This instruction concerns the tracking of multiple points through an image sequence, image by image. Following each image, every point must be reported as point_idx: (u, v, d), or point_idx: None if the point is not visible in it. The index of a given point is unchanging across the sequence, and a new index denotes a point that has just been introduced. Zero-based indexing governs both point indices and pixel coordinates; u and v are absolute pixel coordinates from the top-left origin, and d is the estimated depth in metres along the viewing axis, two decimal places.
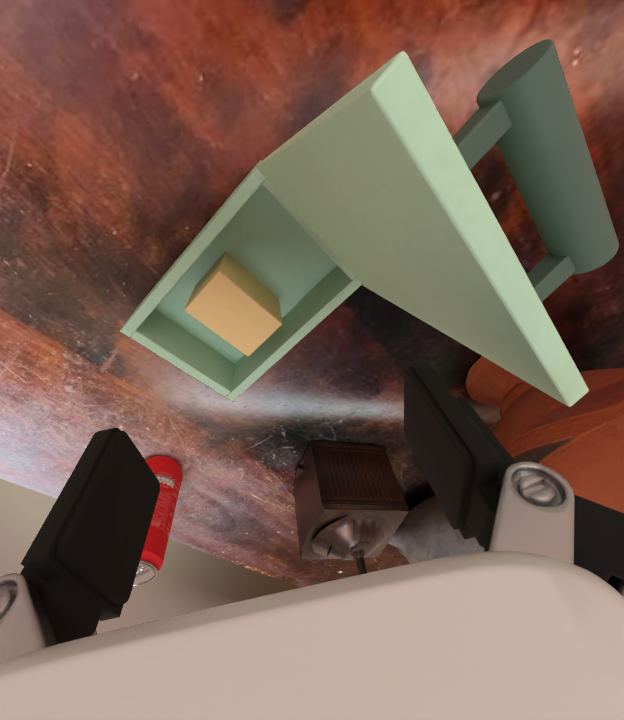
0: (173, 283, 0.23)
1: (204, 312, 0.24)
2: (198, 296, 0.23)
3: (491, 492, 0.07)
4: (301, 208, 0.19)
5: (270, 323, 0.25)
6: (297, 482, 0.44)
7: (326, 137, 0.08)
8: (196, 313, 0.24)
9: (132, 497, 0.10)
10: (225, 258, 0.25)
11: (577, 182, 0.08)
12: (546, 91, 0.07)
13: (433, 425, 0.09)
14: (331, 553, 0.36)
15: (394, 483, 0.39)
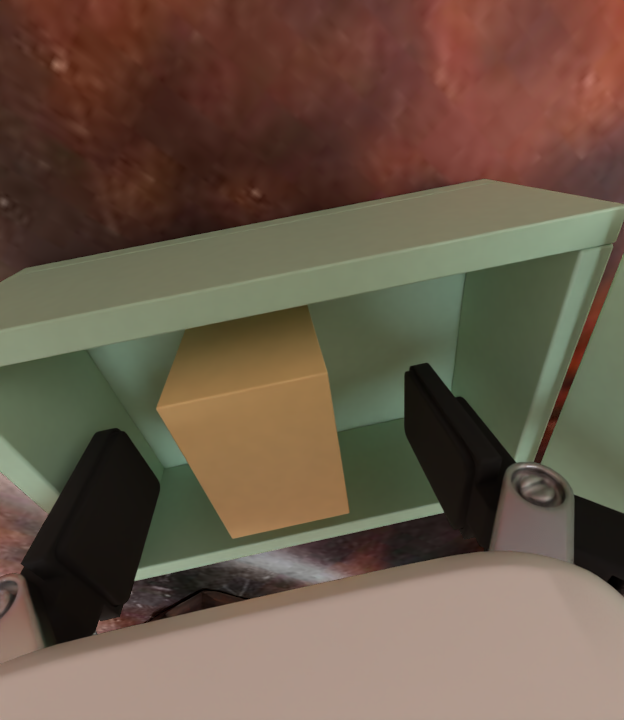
0: (173, 327, 0.07)
1: (208, 435, 0.08)
2: (223, 397, 0.08)
3: (490, 492, 0.07)
4: None
5: (330, 505, 0.11)
6: None
7: None
8: (184, 428, 0.08)
9: (132, 497, 0.10)
10: (309, 313, 0.10)
11: None
12: None
13: (433, 425, 0.09)
14: None
15: None
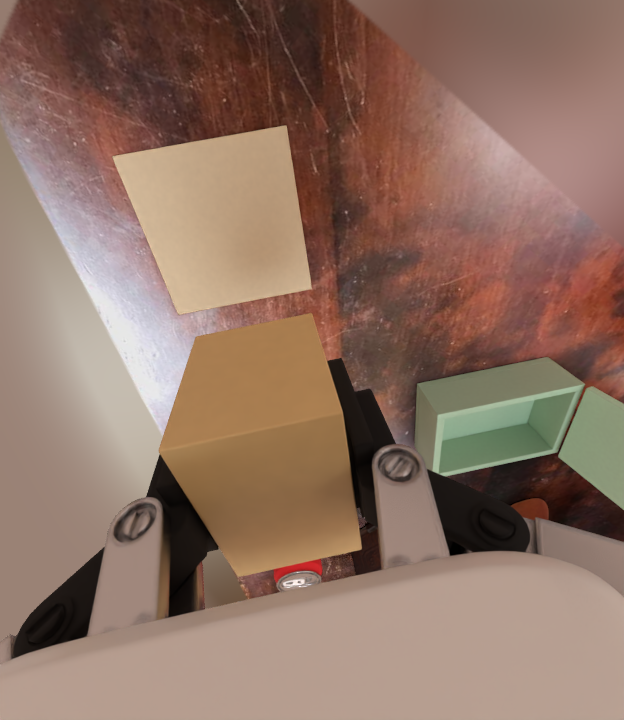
0: (491, 408, 0.34)
1: (214, 476, 0.08)
2: (231, 439, 0.07)
3: (366, 471, 0.08)
4: (601, 425, 0.33)
5: (342, 542, 0.10)
6: (361, 534, 0.52)
7: None
8: (188, 470, 0.07)
9: None
10: (319, 339, 0.10)
11: None
12: None
13: None
14: None
15: None
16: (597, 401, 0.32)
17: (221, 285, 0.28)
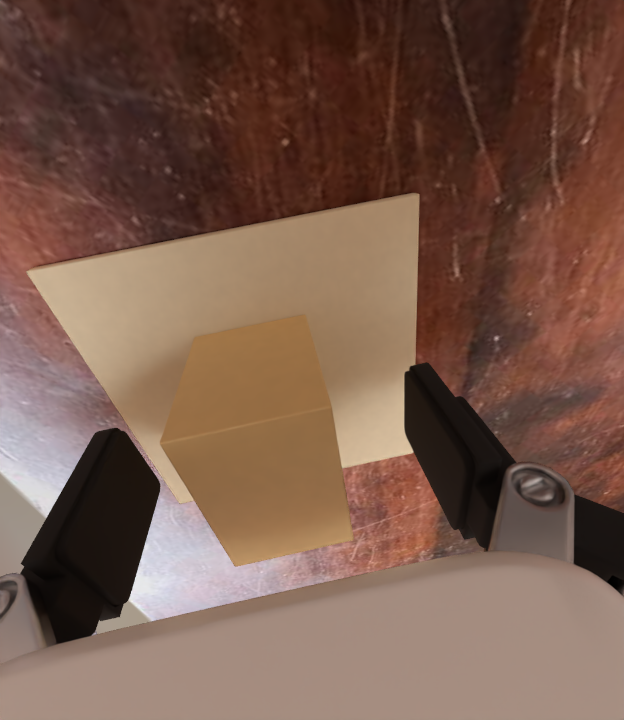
0: None
1: (211, 468, 0.08)
2: (227, 432, 0.07)
3: (490, 492, 0.07)
4: None
5: (334, 532, 0.10)
6: None
7: None
8: (187, 462, 0.08)
9: (132, 497, 0.10)
10: (312, 339, 0.10)
11: None
12: None
13: (433, 425, 0.09)
14: None
15: None
16: None
17: None
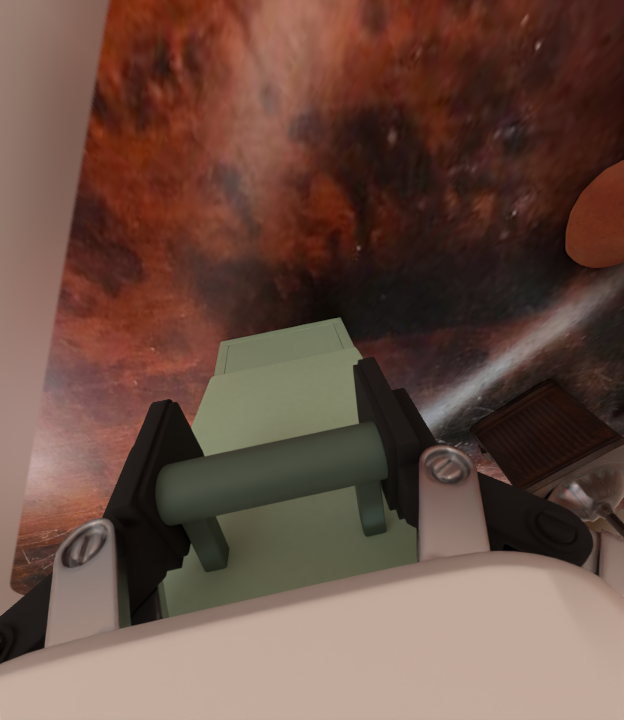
0: None
1: None
2: None
3: (411, 473, 0.08)
4: None
5: None
6: None
7: None
8: None
9: None
10: None
11: (278, 496, 0.09)
12: (185, 516, 0.08)
13: (370, 414, 0.09)
14: None
15: (588, 417, 0.31)
16: None
17: None
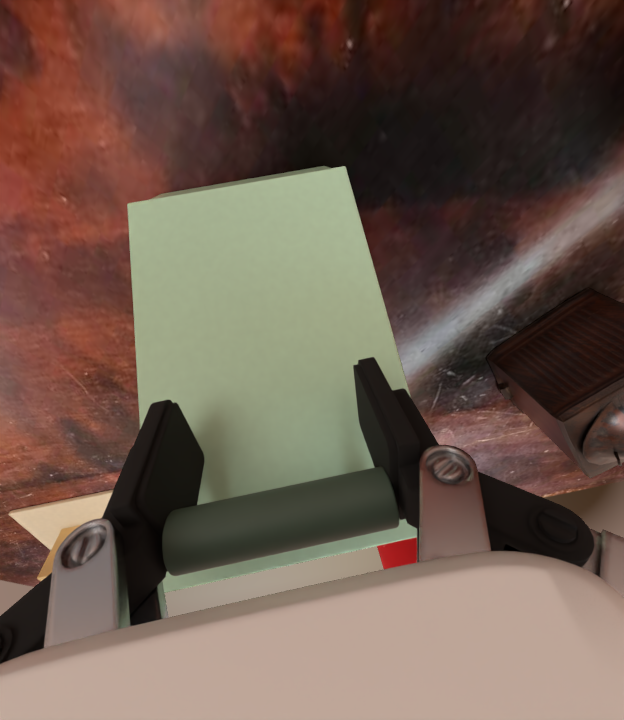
0: None
1: None
2: None
3: (411, 473, 0.08)
4: None
5: None
6: (515, 401, 0.35)
7: None
8: None
9: (185, 463, 0.11)
10: (55, 543, 0.35)
11: None
12: None
13: (371, 414, 0.09)
14: None
15: None
16: None
17: None
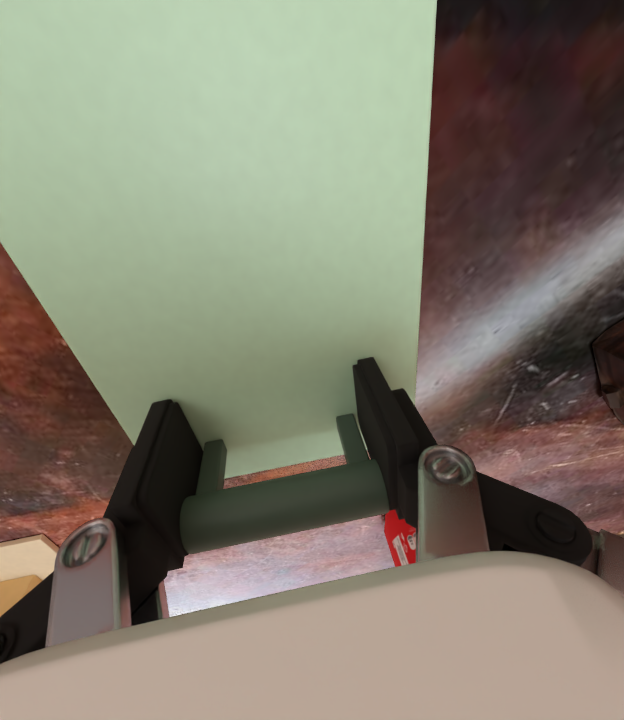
0: None
1: None
2: None
3: (410, 473, 0.08)
4: None
5: None
6: (621, 411, 0.23)
7: None
8: None
9: (186, 463, 0.11)
10: None
11: None
12: None
13: (370, 414, 0.09)
14: None
15: None
16: None
17: None
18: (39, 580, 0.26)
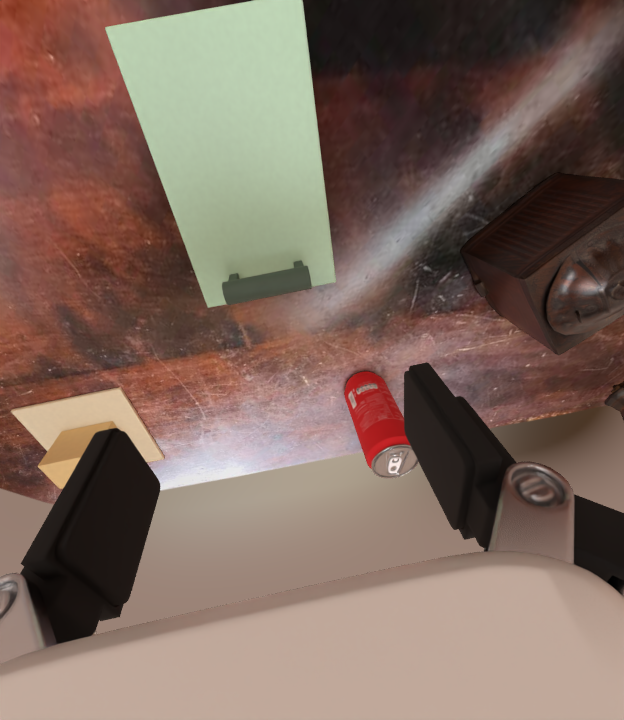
0: None
1: (65, 482, 0.36)
2: (52, 480, 0.35)
3: (490, 492, 0.07)
4: None
5: None
6: (491, 300, 0.36)
7: None
8: (64, 485, 0.36)
9: (132, 497, 0.10)
10: (55, 441, 0.37)
11: None
12: None
13: (433, 425, 0.09)
14: (586, 318, 0.26)
15: (604, 183, 0.26)
16: None
17: (134, 438, 0.40)
18: (115, 425, 0.39)
